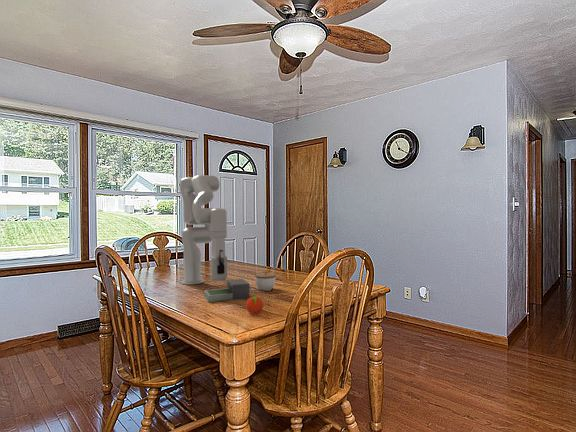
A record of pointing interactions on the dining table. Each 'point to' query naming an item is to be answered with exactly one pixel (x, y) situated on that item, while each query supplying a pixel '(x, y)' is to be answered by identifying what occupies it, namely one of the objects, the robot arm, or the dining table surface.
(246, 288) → the frame
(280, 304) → the dining table surface
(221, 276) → the can
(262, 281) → the lidded jar
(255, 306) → the tomato
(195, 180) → the robot arm
